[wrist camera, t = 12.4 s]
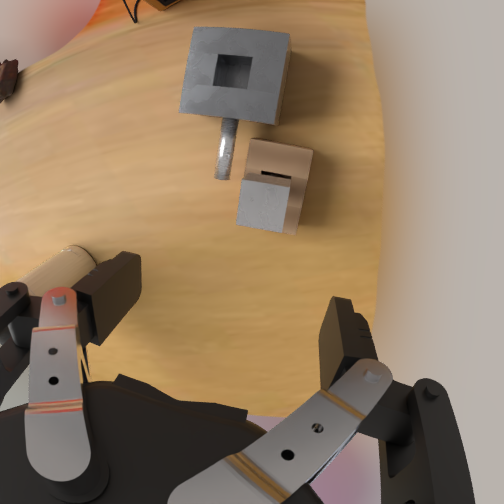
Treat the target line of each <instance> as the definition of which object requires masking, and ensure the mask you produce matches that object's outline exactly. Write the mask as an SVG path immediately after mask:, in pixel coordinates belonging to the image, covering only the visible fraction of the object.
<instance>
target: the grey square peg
mask: <svg viewBox="0 0 504 504" xmlns="http://www.w3.org/2000/svg"><path fill="white" fill-rule="evenodd" d="M290 184H291V179H285V178H282V176H281V175H280V174H278V173H273V172H270V173H268V174H267V175H262V174H256V173H250V172H249V173H248V174H247V175H246V176H245V177H244V178H243V179H242V182H241V190H240V197H239V205H238V213H237V220H236V225H241V226H247V227H252V228H258V229H263V230H269V231H274V232H279V233H282V229H283V224H284V218H285V213H286V207H287V202H288V196H289V191H290Z"/></svg>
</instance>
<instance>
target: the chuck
mask: <svg viewBox="0 0 504 504" xmlns="http://www.w3.org/2000/svg"><path fill="white" fill-rule="evenodd" d="M290 56H291V42H290V34H287V33H280V32H272V31H263V30H253V29H241V28H225V27H194V30H193V35H192V40H191V45H190V50H189V55H188V60H187V65H186V71H185V77H184V83H183V89H182V95H181V101H180V108H179V113H187V114H196V115H205V116H214V117H223V119H222V126H221V132H220V139H219V146H218V152H217V159H216V167H215V174H214V178H216V179H219V180H230V174H231V167H232V161H233V154H234V147H235V141H236V135H237V129H238V122H239V120H245V121H252V122H259V123H265V124H271V125H276V126H278V124H279V118H280V112H281V107H282V101H283V95H284V90H285V84H286V78H287V73H288V67H289V61H290Z"/></svg>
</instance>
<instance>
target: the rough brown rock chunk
mask: <svg viewBox="0 0 504 504" xmlns="http://www.w3.org/2000/svg"><path fill="white" fill-rule="evenodd" d="M17 73H18V60H16V59H15V60H12V61H8V60H5V61H4V62H3V63H2V64H1V63H0V103H1V102H2V101H3V100H4V99H5V98H6V97H7V96H10V95H11V94H12V93H13V89H14V85H15V83H16V81H17Z"/></svg>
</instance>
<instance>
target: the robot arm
mask: <svg viewBox="0 0 504 504" xmlns="http://www.w3.org/2000/svg"><path fill="white" fill-rule="evenodd" d="M141 288H142V284H141V257H140V255H138V254H134V253H130V252H126V251H122V252H121V253H119V254H118V255H117V256H116V257H114V258H113V259H110V260H107V261H105V262H102V263H100V264H99V265H98V266H96V264H95V262H94V260H93V259H92V257H91V256H90V255H89V254H88V253H87V252H86V251H85V250H84V249H82V248H80V247H78V246H73V245H72V246H68V247H66V248H65V249H63V250H61V251H60V252H58V253H57V254H55V255H54V256H52V257H51V258H49V259H48V260H46V261H45V262H43V263H42V264H40V265H39V266H37V267H36V268H34V269H33V270H31V271H30V272H28V273H27V274H25V275H24V276H23V277H21V278H20V279H18V280H17V281H16V282H11V283H8V284H6V285H4V286H3V287H1V288H0V344H1V345H2V346H1V348H0V406H1V404H2V401H3V399H4V396H5V395H6V393H7V392H8V391H9V389H10V388H11V387H12V385H13V384H14V383H15V382H16V380H17V379H18V378H19V376H20V375H21V374H22V373H23V371H24V370H25V369H26V368H27V366H28V365H29V364H30V365H29V403H26V404H23V405H20V406H17V407H14V408H11V409H7V410H4V411H1V412H0V504H324V503H323V502H322V501H321V499H320V498H319V497H318V495H317V494H316V493H315V491H314V490H313V489H312V487H311V486H310V484H311V483H312V482H313V481H314V480H315V479H316V478H317V477H318V476H319V475H320V474H321V473H322V472H323V471H324V470H325V468H326V467H327V466H328V465H329V464H330V463H331V462H332V461H333V459H334V458H336V456H337V455H338V454H339V453H340V452H341V451H342V450H343V449H344V447H345V446H346V445H347V444H348V443H349V442H350V441H351V439H352V438H353V437H354V436H355V435H356V433H357V432H359V433H362V434H365V435H368V436H370V437H374V438H377V439H378V443H379V458H380V475H381V476H380V477H381V504H475V498H474V493H473V487H472V482H471V477H470V472H469V468H468V464H467V459H466V455H465V451H464V447H463V443H462V440H461V436H460V433H459V429H458V426H457V423H456V419H455V415H454V412H453V409H452V406H451V403H450V400H449V397H448V394H447V391H446V390H445V388H444V387H443V386H442V385H441V384H439V383H438V382H436V381H434V380H432V379H428V378H423V379H420V380H418V381H417V382H416V383H415V385H414V386H413V387H411V386H408V385H405V384H402V383H399V382H397V381H394V380H393V376H392V373H391V371H390V369H389V368H388V367H387V366H386V365H385V364H383V363H381V362H379V361H378V357H377V354H376V350H375V346H374V343H373V340H372V336H371V332H370V329H369V325H368V322H367V321H366V319H365V318H364V317H363V316H362V315H361V314H360V313H354V309H353V305H352V302H351V300H350V299H345V298H340V297H335V296H333V297H332V298H331V300H330V303H329V306H328V309H327V312H326V315H325V318H324V320H323V323H322V326H321V329H320V334H319V359H320V382H321V389H320V390H319V391H318V392H317V393H315V394H314V395H313V396H312V397H311V398H310V399H308V400H307V401H306V402H305V403H304V404H303V405H301V406H300V407H299V408H298V409H297V410H295V411H294V412H293V413H292V414H290V415H289V416H288V417H287V418H285V419H284V420H283V421H282V422H280V423H279V424H278V425H276V426H275V427H274V428H273V429H271V430H270V431H269V432H267V431H266V430H264V429H263V428H261V427H259V426H258V425H256V424H254V423H253V422H250V421H248V420H246V418H247V413H248V410H244V409H239V408H235V407H230V406H226V405H221V404H217V403H208V402H191V401H179V400H176V399H174V398H172V397H170V396H168V395H167V394H165V393H163V392H161V391H160V390H158V389H156V388H154V387H153V386H151V385H149V384H147V383H144V382H141V381H138V380H136V379H133V378H130V377H127V376H124V375H122V374H119V375H118V376H117V378H116V379H115V381H114V382H112V381H95V382H92V378H91V372H90V365H89V358H88V351H87V347H86V345H87V344H88V343H89V342H91V343H93V344H96V345H98V346H100V345H101V344H102V343H103V342H104V340H105V339H106V338H107V337H108V336H109V334H110V333H111V332H112V331H113V329H114V328H115V327H116V326H117V324H118V323H119V322H120V321H121V320H122V318H123V317H124V316H125V315H126V314H127V312H128V311H129V310H130V309H131V308H132V306H133V305H134V304H135V303H136V302H137V300H138V299H139V297H140V294H141Z"/></svg>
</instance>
